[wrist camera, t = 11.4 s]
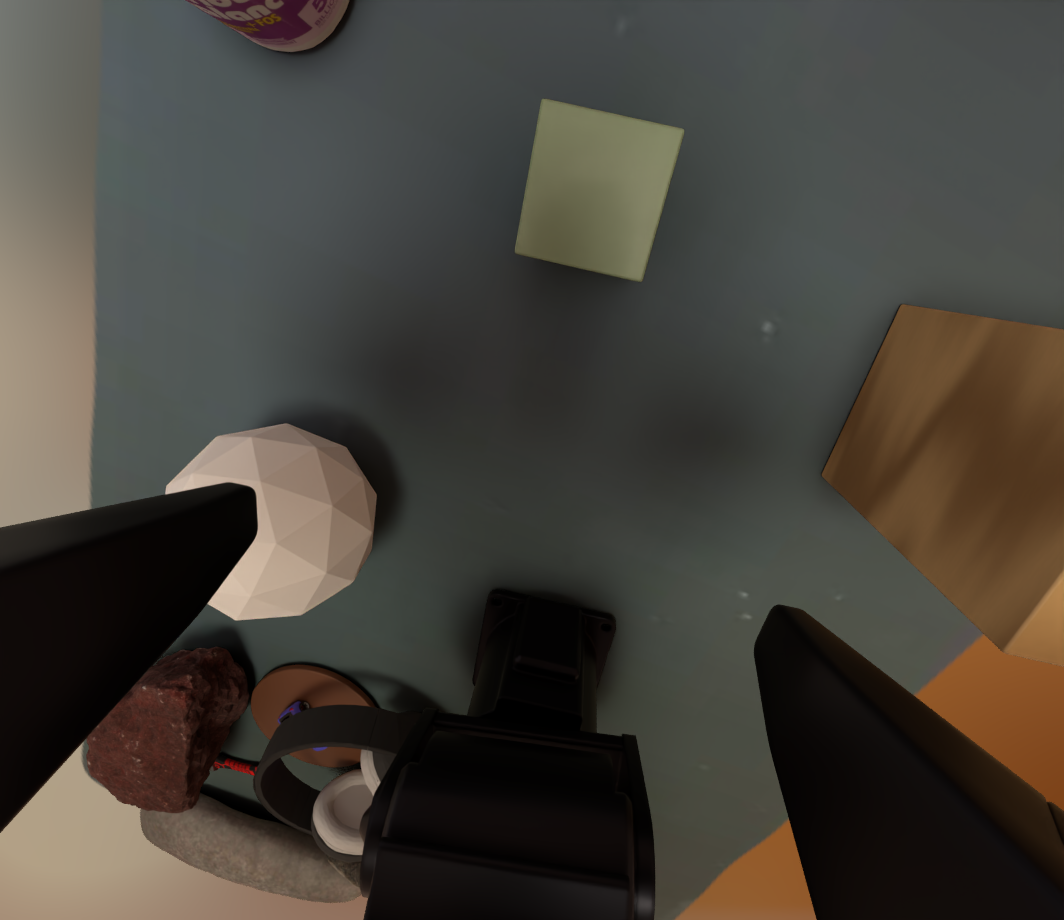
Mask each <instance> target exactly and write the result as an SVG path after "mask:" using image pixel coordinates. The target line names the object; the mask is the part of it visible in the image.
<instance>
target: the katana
mask: <svg viewBox="0 0 1064 920" xmlns="http://www.w3.org/2000/svg"><path fill="white" fill-rule="evenodd" d="M257 767H258V766H256V765H250V764H246V763H242V762H238V761H235V760H232V759H229V758H227V757H225V756H223V755H219V754H218V756H217V758H216V760H215V763H214V764H213V765H212V766H211V768H210V771H215V770H217V769H218V768H228V769H233V770H237V771H241V772H244V773H248V774H250V775H255V771H256V769H257Z"/></svg>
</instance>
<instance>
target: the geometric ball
mask: <svg viewBox="0 0 1064 920" xmlns="http://www.w3.org/2000/svg"><path fill="white" fill-rule="evenodd" d="M225 482H233V483H237V484H242V485H246V486H250V487H252V488H253V489H254V490H255V493H256V498H257V517H258V531H257V535H256V538H255V540H254V541H253V543H252V544H251V546H250V547H249V548H248V550H247V551H246V552H245V554H244V555H243V556H242V558H241V559H240V560H239V562H238V563H237V565H236V566H235V567H234V569H233V570H232V571H231V573H230V574H229V575H228V577H227V578H226V579H225V581H224V582H223V583H222V585H221V586H220V587H219V589H218V590H217V591H216V593H215V594H214V595H213V597H212V598H211V600H210V601H209V602H208V603H207V604H209V605H210V606H212V607H214V608H215V609H217V610H219V611H221V612H222V613H224V614H226V615H227V616H229V617H231V618H233V619H234V620H248V619H260V618H273V617H285V616H298V615H302V614H304V613H305V612H307V611H309V610H310V609H312V608H313V607H315V606H317V605H318V604H320V603H322V602H323V601H325V600H326V599H328V598H330V597H331V596H333V595H334V594H336V593H337V592H339V591H340V590H342V589H343V588H345V587H346V586H348V585H349V584H351V583H352V582H354V580H355V578H356V576H357V575H358V573H359V571H360V569H361V568H362V566H363V564H364V562H365V561H366V559H367V557H368V556H369V554H370V552H371V550H372V542H373V531H374V521H375V510H376V499H377V494H376V493H375V491H374V489H373V488H372V486H371V485H370V483H369V482H368V480H367V479H366V477H365V475H364V474H363V472H362V471H361V469H360V468H359V466H358V465H357V463H356V461H355V460H354V458H353V457H352V455H351V454H350V452H349V451H348V449H347V447H345V446H342V445H340V444H337V443H335V442H332V441H330V440H327V439H325V438H322V437H320V436H317V435H315V434H312V433H310V432H307V431H305V430H302V429H300V428H297V427H295V426H292V425H290V424H287V423H285V424H280V425H275V426H269V427H264V428H258V429H253V430H248V431H242V432H237V433H232V434H226V435H221V436H217V437H216V438H215V439H213V440H212V441H211V442H210V443H209V444H208V445H207V446H206V447H205V448H204V449H203V450H202V451H201V452H200V453H199V454H198V455H197V456H196V457H195V458H194V459H193V460H192V461H191V462H190V463H189V464H188V465H187V466H186V467H185V468H184V469H183V470H182V471H181V472H180V473H179V474H178V475H177V476H176V477H175V478H174V479H173V480H172V481H171V482H170V483H169V484H168V485H167V486H166V493H165V494H170V493H175V492H180V491H185V490H190V489H195V488H200V487H205V486H210V485H215V484H220V483H225Z"/></svg>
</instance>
